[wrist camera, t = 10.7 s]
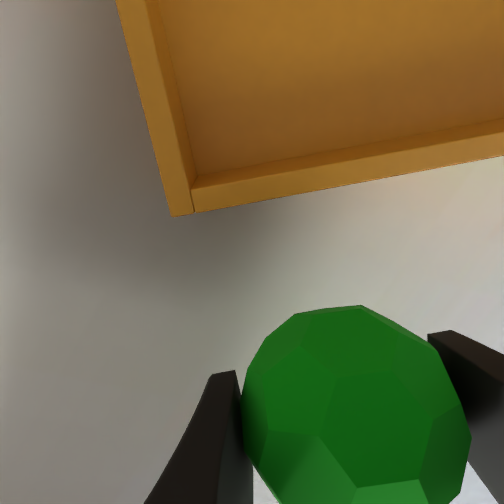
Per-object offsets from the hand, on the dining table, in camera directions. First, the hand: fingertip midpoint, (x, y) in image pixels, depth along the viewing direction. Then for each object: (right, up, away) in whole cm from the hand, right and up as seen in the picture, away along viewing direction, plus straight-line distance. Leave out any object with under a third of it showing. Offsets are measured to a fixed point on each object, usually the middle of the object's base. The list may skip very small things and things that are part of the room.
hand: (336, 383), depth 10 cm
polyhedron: (0, +1, +1) cm, 2 cm away
